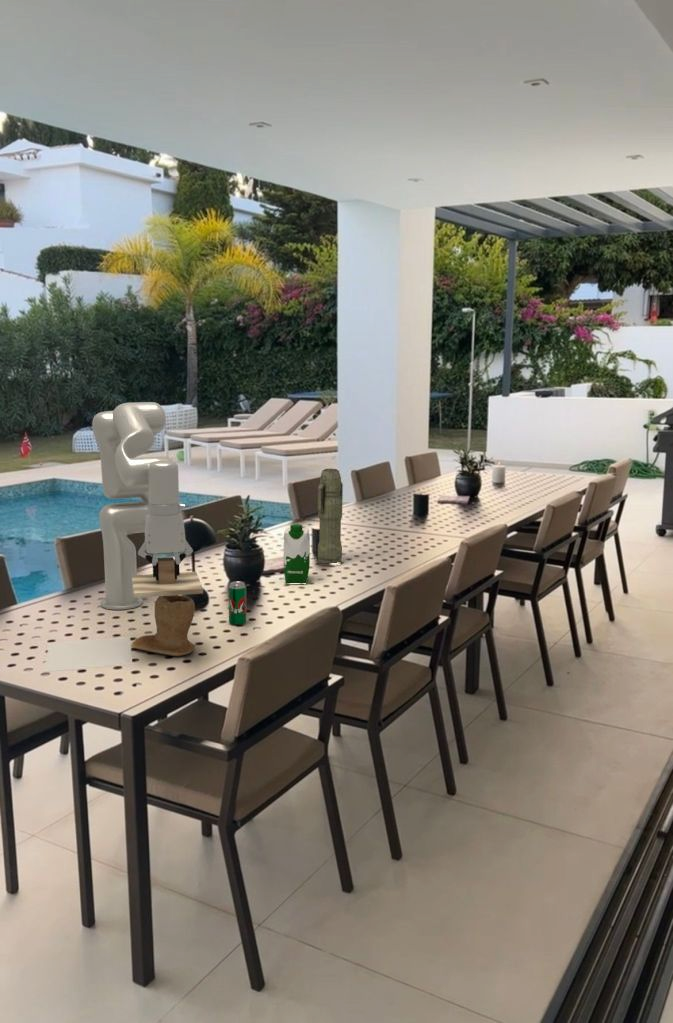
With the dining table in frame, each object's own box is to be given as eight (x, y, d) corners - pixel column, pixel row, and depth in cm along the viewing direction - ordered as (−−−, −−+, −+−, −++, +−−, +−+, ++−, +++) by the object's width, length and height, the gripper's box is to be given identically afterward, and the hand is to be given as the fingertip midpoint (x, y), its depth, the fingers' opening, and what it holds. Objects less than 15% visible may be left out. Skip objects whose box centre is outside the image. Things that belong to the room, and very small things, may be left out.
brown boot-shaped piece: (205, 648, 228) (204, 593, 225) (179, 662, 217) (177, 606, 214) (158, 639, 234) (156, 586, 231) (130, 653, 223) (128, 598, 220)
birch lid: (131, 579, 228) (130, 553, 226) (196, 575, 232) (195, 550, 231) (134, 597, 212) (133, 569, 210) (203, 593, 216) (202, 565, 215)
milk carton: (282, 585, 287) (282, 526, 283) (284, 577, 296) (284, 521, 292) (308, 585, 287) (309, 527, 283) (310, 578, 296) (310, 521, 292)
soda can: (246, 620, 250) (246, 580, 248) (245, 626, 246) (245, 585, 243) (229, 620, 250) (229, 580, 248) (228, 626, 245) (227, 585, 243)
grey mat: (49, 644, 229) (49, 642, 229) (130, 638, 234) (129, 636, 234) (44, 674, 209) (43, 671, 209) (132, 666, 214) (132, 664, 214)
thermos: (310, 564, 313) (310, 470, 307) (329, 558, 323) (329, 466, 316) (330, 568, 308) (331, 472, 302) (348, 562, 318) (349, 468, 311)
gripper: (195, 505, 224) (197, 573, 227) (130, 508, 220) (132, 577, 223) (198, 510, 217) (200, 580, 220) (131, 513, 212) (133, 584, 216)
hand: (166, 578), depth 222 cm, fingers closed on birch lid, 4 cm apart
